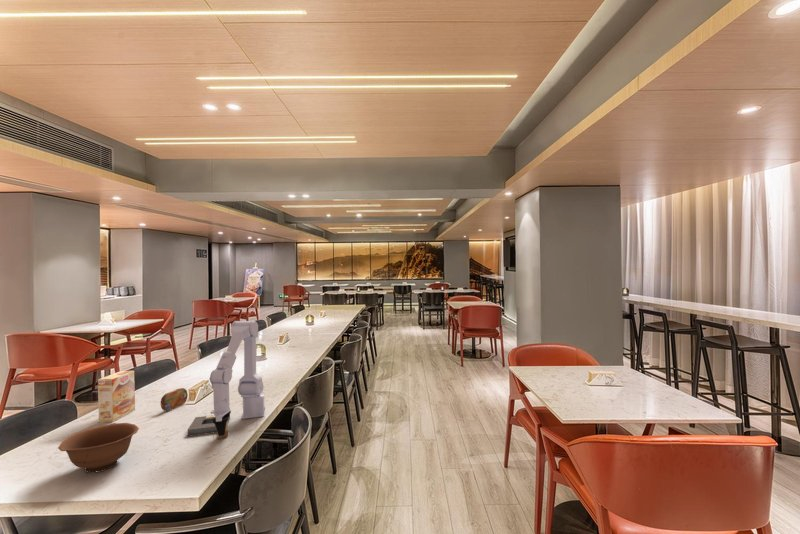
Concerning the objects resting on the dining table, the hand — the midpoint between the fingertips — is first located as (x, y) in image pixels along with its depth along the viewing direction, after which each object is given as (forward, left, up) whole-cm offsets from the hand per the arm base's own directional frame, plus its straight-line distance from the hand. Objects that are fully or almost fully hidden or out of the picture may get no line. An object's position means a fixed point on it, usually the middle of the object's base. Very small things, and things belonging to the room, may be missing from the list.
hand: (222, 432), depth 155 cm
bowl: (+37, +11, -2) cm, 39 cm away
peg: (0, 0, -2) cm, 2 cm away
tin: (+29, -46, -2) cm, 54 cm away
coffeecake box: (+52, -43, -2) cm, 68 cm away
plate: (+7, -13, -2) cm, 15 cm away
